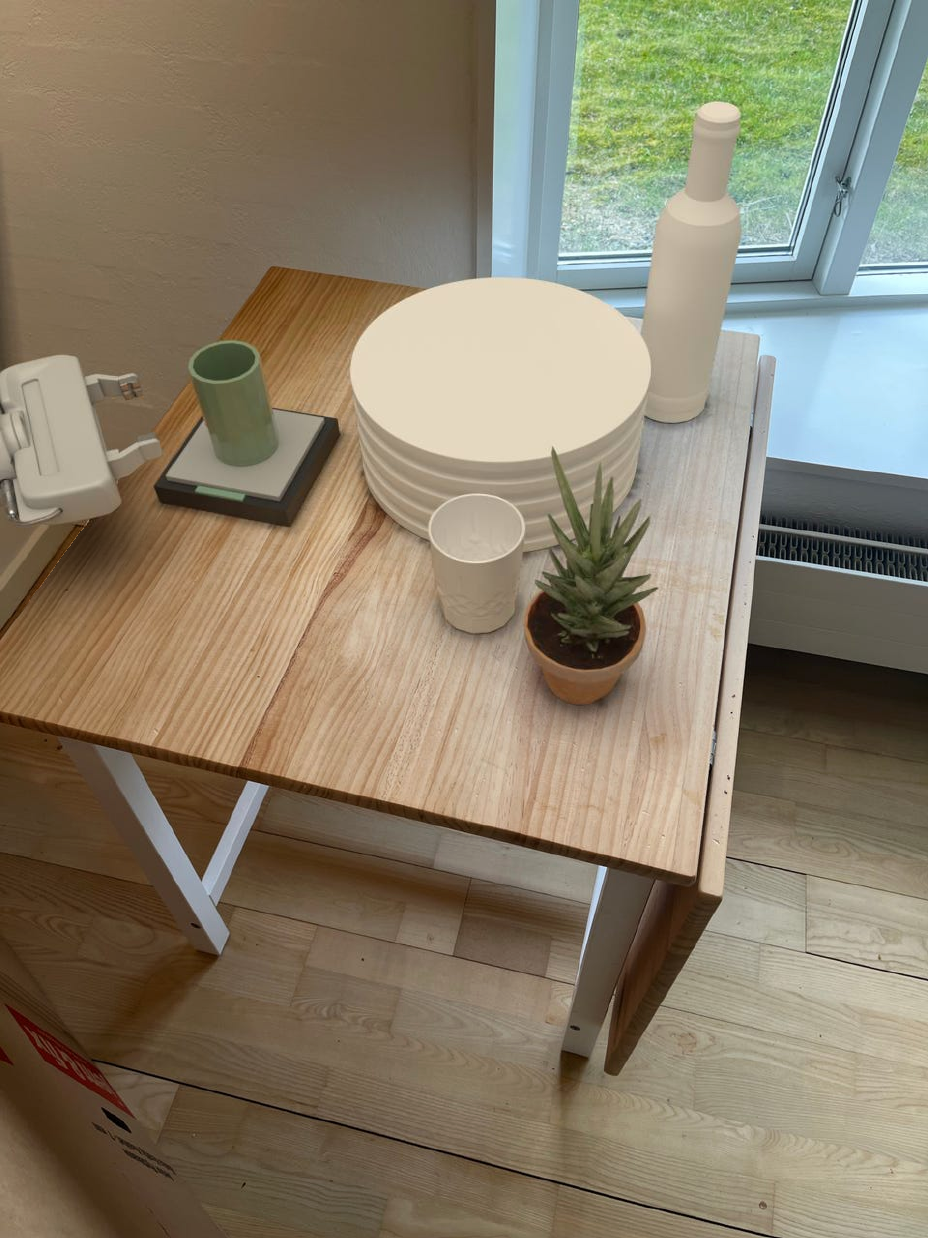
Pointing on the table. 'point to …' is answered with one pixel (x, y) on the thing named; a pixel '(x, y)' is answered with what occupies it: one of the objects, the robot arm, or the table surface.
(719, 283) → the bottle
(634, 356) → the plate stack
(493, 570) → the white cup
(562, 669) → the potted plant
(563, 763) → the table surface
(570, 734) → the table surface
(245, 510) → the scale
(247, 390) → the tumbler
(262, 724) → the table surface
